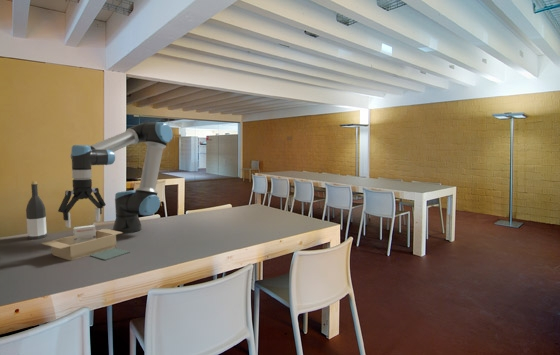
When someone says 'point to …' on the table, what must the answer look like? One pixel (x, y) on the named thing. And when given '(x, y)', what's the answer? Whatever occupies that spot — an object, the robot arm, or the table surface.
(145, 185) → the robot arm
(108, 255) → the mat
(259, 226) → the table surface
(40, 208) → the wine bottle
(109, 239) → the tan shallow open box
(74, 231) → the ink box
